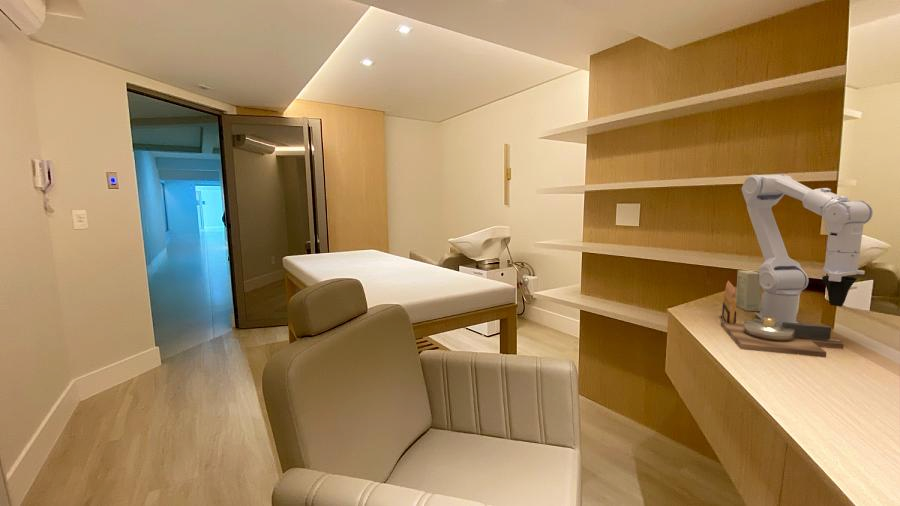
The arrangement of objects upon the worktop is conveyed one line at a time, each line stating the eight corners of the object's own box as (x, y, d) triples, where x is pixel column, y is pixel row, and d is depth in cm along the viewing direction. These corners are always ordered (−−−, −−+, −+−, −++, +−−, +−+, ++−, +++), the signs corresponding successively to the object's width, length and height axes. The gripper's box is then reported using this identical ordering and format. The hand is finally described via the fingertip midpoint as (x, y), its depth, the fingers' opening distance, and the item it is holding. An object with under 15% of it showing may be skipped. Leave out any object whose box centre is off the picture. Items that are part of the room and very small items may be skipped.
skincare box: (760, 311, 121) (764, 273, 119) (745, 311, 122) (748, 273, 120) (749, 305, 127) (752, 269, 125) (734, 305, 128) (737, 269, 126)
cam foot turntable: (751, 337, 95) (752, 322, 95) (738, 325, 105) (739, 311, 104) (839, 345, 89) (841, 329, 89) (817, 331, 98) (819, 316, 98)
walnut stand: (720, 325, 110) (721, 320, 109) (820, 333, 101) (821, 328, 101) (741, 348, 93) (741, 343, 93) (862, 360, 85) (862, 354, 85)
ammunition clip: (735, 329, 107) (738, 287, 105) (727, 328, 108) (730, 287, 106) (729, 318, 116) (731, 280, 115) (721, 317, 117) (724, 279, 116)
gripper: (862, 256, 85) (855, 315, 87) (870, 249, 94) (863, 302, 96) (819, 253, 90) (813, 308, 92) (830, 247, 99) (824, 297, 101)
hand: (836, 305), depth 94 cm, fingers closed
